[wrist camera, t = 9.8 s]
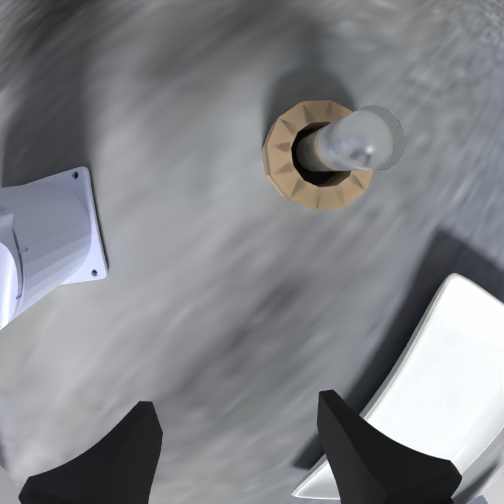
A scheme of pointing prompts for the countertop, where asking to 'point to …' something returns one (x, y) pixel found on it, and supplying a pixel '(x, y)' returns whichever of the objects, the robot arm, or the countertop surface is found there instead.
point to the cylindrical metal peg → (354, 143)
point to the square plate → (439, 384)
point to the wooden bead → (281, 165)
